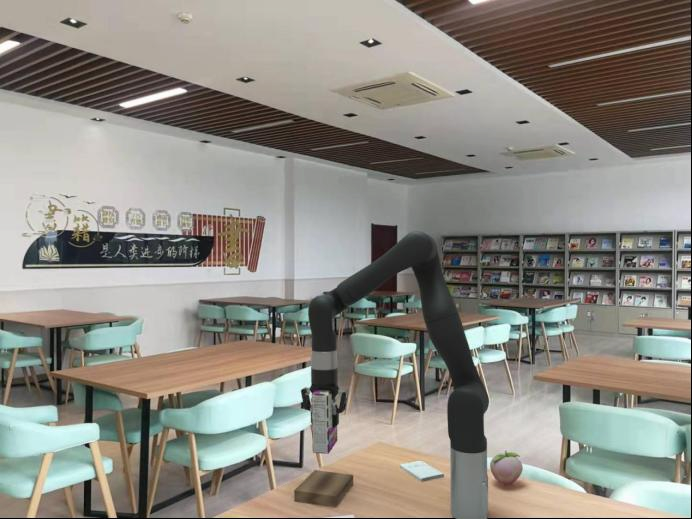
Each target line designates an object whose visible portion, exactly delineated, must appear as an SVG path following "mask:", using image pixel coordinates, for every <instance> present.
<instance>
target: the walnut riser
mask: <svg viewBox="0 0 692 519" xmlns="http://www.w3.org/2000/svg"><path fill="white" fill-rule="evenodd" d="M353 486H354V474H350V473H349V474H348V473H342V472H335V471H326V470H320V469H319V470H317V469H314V470H313V472H311V473H310V475H308V476H307V477H306V478H305V479H304V480H303V481H302V482H301V483H300V484H299V485H298V486H297V487H296V488H295V489H294V490H293V492H294V494H293V496H294V497H293V498H294V502H297V503H304V504H309V505H316V506H323V507H329V508H331V507H332V508H337V507H338V505H339V504H340V503H341V501H342V500H343V499H344V498H345V496H346V495H347V494H348V493H349V491H350V490H351V489H352V487H353ZM350 488H351V489H350ZM349 489H350V490H349ZM346 493H347V494H346ZM343 497H344V498H343ZM342 498H343V499H342ZM339 502H340V503H339Z"/></svg>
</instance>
